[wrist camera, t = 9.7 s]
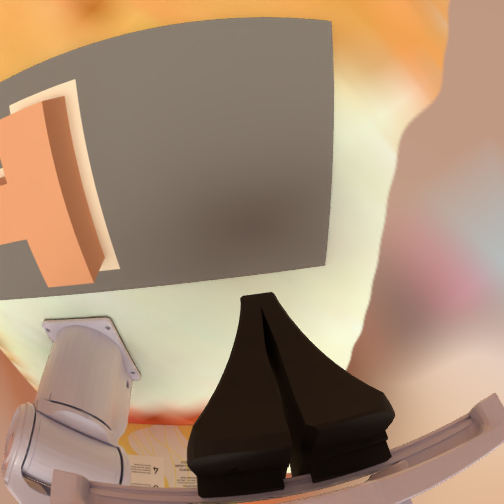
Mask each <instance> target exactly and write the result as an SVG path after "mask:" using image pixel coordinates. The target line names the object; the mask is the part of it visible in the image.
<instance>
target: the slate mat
mask: <svg viewBox="0 0 504 504" xmlns="http://www.w3.org/2000/svg"><path fill="white" fill-rule="evenodd" d="M62 96H65V102H66V109H67V115H68V121H69V126H70V132H71V137H72V142H73V147H74V151H75V156H76V160H77V165H78V169H79V173H80V177H81V181H82V185H83V189H84V192H85V196H86V200H87V203H88V207H89V210H90V213H91V217H92V220H93V223H94V226H95V230H96V233H97V236H98V239H99V242H100V245H101V248H102V251H103V254H104V256H105V259H104V261H103V263H102V265H101V268H100V270H99V272H98V275H97V277H96V279H95V282H94V283H88V284H78V285H69V286H59V287H49V288H48V286H47V284H46V282H45V280H44V278H43V276H42V273H41V271H40V269H39V267H38V265H37V263H36V260H35V258H34V256H33V253H32V251H31V249H30V246H29V244H28V242H27V239H26V240H21V241H16V242H11V243H7V244H2V245H0V300H9V299H23V298H36V297H48V296H60V295H71V294H83V293H93V292H104V291H114V290H124V289H134V288H144V287H153V286H163V285H172V284H181V283H190V282H199V281H207V280H216V279H224V278H232V277H241V276H249V275H257V274H265V273H272V272H280V271H288V270H295V269H303V268H310V267H317V266H324V265H325V261H326V251H327V240H328V228H329V215H330V200H331V183H332V162H333V128H334V74H333V42H332V23H331V21H325V20H314V19H300V18H275V17H255V18H229V19H215V20H205V21H196V22H188V23H181V24H174V25H168V26H162V27H157V28H152V29H147V30H142V31H137V32H133V33H129V34H125V35H121V36H117V37H113V38H110V39H106V40H103V41H99V42H96V43H93V44H90V45H87V46H84V47H81V48H78V49H75V50H72V51H69V52H67V53H64V54H61V55H59V56H56V57H54V58H51V59H49V60H46V61H44V62H42V63H39V64H37V65H35V66H33V67H30V68H28V69H26V70H24V71H22V72H20V73H18V74H16V75H14V76H12V77H10V78H8V79H6V80H4V81H2V82H0V119H2V118H4V117H6V116H9V115H11V114H13V113H15V112H17V111H20V110H22V109H24V108H27V107H29V106H31V105H34V104H36V103H39V102H41V101H45V100H49V99H53V98H57V97H62ZM4 176H5V174H4V171H3V167H2V163H1V159H0V178H1V177H4Z"/></svg>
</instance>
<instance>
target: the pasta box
mask: <svg viewBox="0 0 504 504" xmlns="http://www.w3.org/2000/svg"><path fill="white" fill-rule="evenodd" d="M192 427H193V425H150V424H134V423H128V424H127V427H126V430H125V432H124V433H123V435H122V436H121V437H120V438H119V439H118V445H120V446H122V447H123V448H124V450H125V451H126V453H127V455H128V459H129V461H130V465H131V482H130V486H140V487H158V488H197V476H196V475H195V474H194V473H193V472H192V471H191V470H190V469H189V468H188V466H187V446H188V441H189V437H190V433H191V430H192ZM233 504H237V503H233Z"/></svg>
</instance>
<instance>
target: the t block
mask: <svg viewBox="0 0 504 504" xmlns="http://www.w3.org/2000/svg"><path fill="white" fill-rule="evenodd" d="M0 159H1V163H2V167H3V171H4V174H5V176H4V177H1V178H0V245H2V244H7V243H11V242H16V241H21V240H26V239H27V242H28V244H29V246H30V249H31V251H32V253H33V256H34V258H35V260H36V263H37V265H38V267H39V269H40V271H41V273H42V276H43V278H44V280H45V282H46V284H47V286H48V288H49V287H59V286H69V285H78V284H88V283H94V282H95V279H96V277H97V275H98V272H99V270H100V268H101V265H102V263H103V261H104V259H105V256H104V254H103V251H102V248H101V245H100V242H99V239H98V236H97V233H96V230H95V226H94V223H93V220H92V217H91V213H90V210H89V207H88V203H87V200H86V196H85V192H84V189H83V185H82V181H81V177H80V173H79V169H78V165H77V160H76V156H75V151H74V147H73V142H72V137H71V132H70V126H69V121H68V115H67V109H66V102H65V96H62V97H57V98H53V99H49V100H45V101H41V102H39V103H36V104H34V105H31V106H29V107H27V108H24V109H22V110H20V111H17V112H15V113H13V114H11V115H9V116H6V117H4V118H2V119H0Z"/></svg>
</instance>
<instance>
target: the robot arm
mask: <svg viewBox="0 0 504 504" xmlns="http://www.w3.org/2000/svg"><path fill="white" fill-rule="evenodd" d="M240 301H241V310H240V319H239V324H238V329H237V334H236V338H235V341H234V345H233V348H232V351H231V354H230V357H229V360H228V363H227V365H226V368H225V370H224V373H223V375H222V377H221V379H220V382H219V384H218V386H217V388H216V390H215V391H214V393H213V395H212V397H211V399H210V400H209V402H208V404H207V406H206V407H205V409H204V410H203V412H202V413H201V415H200V416H199V418H198V419H197V421H196V422H195V424H194V425H193V427H192V430H191V433H190V437H189V441H188V446H187V466H188V468H189V469H190V470H191V471H192V472H193V473H194V474H195V475H196V476H197V488H158V487H140V486H130V482H131V465H130V461H129V459H128V455H127V453H126V451H125V450H124V448H123V447H122V446H120V445H118V439H119V438H120V437H121V436H122V435H123V433H124V432H125V430H126V427H127V424H128V415H129V405H130V396H131V388H132V380H140V379H141V375H140V374H139V372H138V370H137V368H136V367H135V365H134V363H133V361H132V359H131V358H130V356H129V354H128V352H127V350H126V348H125V347H124V345H123V343H122V341H121V339H120V337H119V335H118V333H117V331H116V329H115V327H114V325H113V323H112V321H111V320H110V319H109V318H105V317H104V318H88V319H70V320H46V321H43V323H42V326H43V328H44V330H45V331H46V333H47V334H48V336H49V337H50V339H51V340H52V342H53V343H54V344H53V347H52V349H51V352H50V355H49V358H48V360H47V363H46V366H45V369H44V372H43V375H42V378H41V381H40V385H39V388H38V391H37V395H36V398H35V401H34V404H33V405H32V404H31V403H29V402H26V403H25V404H21V405H19V406H18V408H17V410H16V411H15V414H14V416H13V419H12V421H11V424H10V427H9V431H8V434H7V438H6V443H5V449H4V459H3V464H2V476H3V478H4V483H5V485H6V487H7V489H8V490H9V491H10V493H11V494H12V495H13V496H14V498H15V499H16V500H17V501H18V502H19V504H233V503H244V502H253V501H260V500H268V499H275V498H281V497H286V496H291V495H297V494H302V493H306V492H311V491H315V490H319V489H323V488H327V487H331V486H334V485H338V484H342V483H345V482H349V481H352V480H355V479H358V478H361V477H364V476H368V475H370V474H373V473H375V474H373V475H371V476H370V477H369V479H368V480H367V481H366V482H364V483H361V484H358V485H355V486H351V487H347V488H344V489H340V490H336V491H333V492H328V493H324V494H320V495H316V496H312V497H307V498H303V499H298V500H294V501H289V502H284V503H279V504H412V501H411V498H413V497H415V496H417V495H419V494H422V493H424V492H426V491H427V490H430V489H431V488H433V487H435V486H437V485H439V484H441V483H443V482H444V481H446V480H448V479H450V478H451V477H453V476H455V475H457V474H458V473H460V472H461V471H463V470H465V469H466V468H468V467H470V466H471V465H473V464H474V463H476V462H477V461H479V460H480V459H482V458H483V457H485V456H486V455H488V454H489V453H490V452H492V451H493V450H494V449H496V448H497V447H499V446H500V445H501V444H502V443H504V407H503V405H502V403H501V402H500V400H499V398H498V396H497V395H496V393H493V394H492V395H490V396H489V397H487V398H485V399H484V400H482V401H481V402H479V403H478V404H476V405H475V406H474V407H473V408H472V409H471V411H470V412H469V413H467V414H466V415H464V416H462V417H460V418H458V419H456V420H455V421H453V422H451V423H449V424H447V425H445V426H443V427H441V428H439V429H437V430H435V431H433V432H431V433H428V434H426V435H424V436H422V437H420V438H417V439H415V440H413V441H410V442H408V443H406V444H403V445H401V446H398V447H396V448H393V449H391V450H389V448H388V445H387V442H386V440H387V439H388V436H387V434H386V431H385V430H386V429H387V428H388V426H389V425H390V424H391V423H392V421H393V419H394V417H395V413H394V410H393V408H392V406H391V404H390V402H389V401H388V399H387V398H386V396H385V395H384V393H383V392H381V391H379V390H377V389H375V388H373V387H371V386H369V385H367V384H366V383H364V382H362V381H361V380H359V379H357V378H356V377H354V376H352V375H351V374H350V373H348V372H347V371H345V370H344V369H343V368H341V367H340V366H338V365H337V364H336V363H334V362H333V361H332V360H331V359H330V358H328V357H327V356H326V355H325V354H324V353H323V352H321V351H320V350H319V349H318V348H317V347H316V346H315V345H314V344H313V343H312V342H311V341H310V340H309V339H308V338H307V337H306V336H305V335H304V334H303V333H302V331H301V330H300V329H299V328H298V327H297V325H296V324H295V323H294V322H293V321H292V319H291V318H290V317H289V316H288V314H287V313H286V311H285V310H284V309H283V307H282V306H281V304H280V303H279V301H278V300H277V298H276V296H275V294H274V293H272V292H269V293H261V294H254V295H246V296H242V297H241V298H240ZM108 326H109V327H108ZM289 464H290V467H291V473H292V477H291V478H287V479H286V478H285V477H286V472H287V467H289ZM376 472H377V473H376ZM26 476H27V477H26ZM28 477H29V478H28ZM30 478H31V479H30ZM32 479H33V480H32ZM34 480H36V481H38V482H36V481H34ZM39 482H41V483H43V484H41V483H39ZM44 484H45V485H44ZM46 485H48V486H50V487H48V486H46Z"/></svg>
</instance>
